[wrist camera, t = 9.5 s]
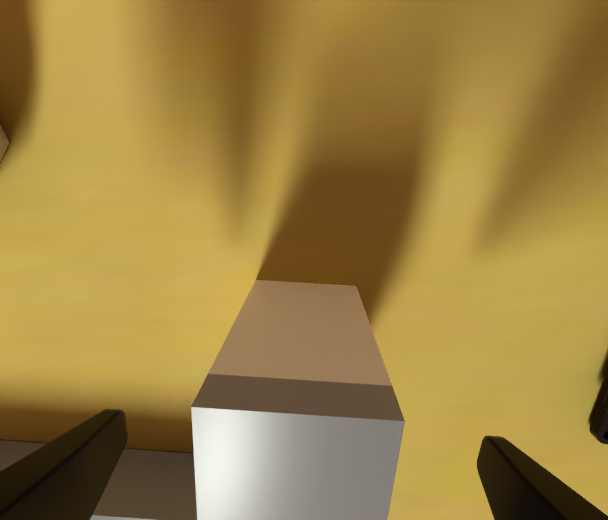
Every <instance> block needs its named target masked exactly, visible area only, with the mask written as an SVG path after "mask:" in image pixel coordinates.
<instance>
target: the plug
mask: <svg viewBox="0 0 608 520" xmlns="http://www.w3.org/2000/svg"><path fill="white" fill-rule="evenodd" d="M191 413H192V431H193V449H194V468H195V486H196V504H197V520H387V518H388V512H389V507H390V501H391V496H392V490H393V484H394V479H395V473H396V467H397V462H398V456H399V450H400V445H401V439H402V434H403V428H404V422H405V421H404V418H403V415H402V412H401V410H400V407H399V404H398V401H397V398H396V396H395V393H394V390H393V387H392V384H391V382H390V379H389V376H388V373H387V370H386V368H385V365H384V362H383V359H382V356H381V354H380V351H379V348H378V345H377V342H376V340H375V337H374V334H373V331H372V328H371V326H370V323H369V320H368V317H367V314H366V312H365V309H364V306H363V303H362V300H361V298H360V295H359V292H358V289H357V286H349V285H333V284H316V283H300V282H284V281H268V280H255V282H254V284H253V286H252V288H251V290H250V292H249V294H248V296H247V298H246V300H245V302H244V304H243V306H242V308H241V310H240V312H239V314H238V316H237V318H236V320H235V322H234V324H233V326H232V328H231V330H230V332H229V334H228V336H227V338H226V339H225V341H224V343H223V345H222V347H221V349H220V351H219V353H218V355H217V357H216V359H215V361H214V363H213V365H212V367H211V369H210V371H209V373H208V375H207V377H206V379H205V381H204V383H203V385H202V387H201V389H200V391H199V393H198V395H197V397H196V398H195V400H194V402H193V404H192V406H191Z"/></svg>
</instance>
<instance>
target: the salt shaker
mask: <svg viewBox="0 0 608 520" xmlns="http://www.w3.org/2000/svg"><path fill="white" fill-rule="evenodd" d="M8 145H9V140H8V138H7V136H6V134H5V132H4V130H3V128H2V125H1V123H0V162H1V160H2V158H3V156H4V154H5V151H6V149H7V147H8Z"/></svg>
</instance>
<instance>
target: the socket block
mask: <svg viewBox="0 0 608 520" xmlns="http://www.w3.org/2000/svg"><path fill="white" fill-rule="evenodd" d="M45 444H47V443H34V442H19V441H5V440H0V471H1V470H3V469H5V468H6V467H8V466H10V465H11V464H13V463H15V462H16V461H18V460H20V459H22V458H23V457H25V456H27V455H28V454H30V453H32V452H33V451H35V450H37V449H38V448H40V447H42V446H44V445H45ZM90 520H197V504H196V486H195V468H194V453H180V452H165V451H150V450H136V449H124V450H123V452H122V454H121V456H120V458H119V461H118V463H117V465H116V467H115V469H114V471H113V473H112V475H111V478H110V480H109V482H108V484H107V486H106V488H105V490H104V492H103V495H102V497H101V499H100V501H99V503H98V505H97V507H96V509H95V511H94V513H93V515H92V517H91V519H90Z"/></svg>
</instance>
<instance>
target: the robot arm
mask: <svg viewBox="0 0 608 520" xmlns="http://www.w3.org/2000/svg"><path fill="white" fill-rule="evenodd" d="M590 432H591V434H592V435H593V436H594V437H595V438H596V439H597V440H598V441H600V442H601V443H604V444H608V381H607V383H606V386H605V389H604V391H603V394H602V396H601V399H600V402H599V404H598V407H597V409H596V412H595V415H594V417H593V420H592V422H591V425H590ZM126 442H127V427H126V419H125V413H124V411H123V410H119V409H105V410H103V411H101V412H100V413H98V414H96V415H94V416H93V417H91V418H89V419H88V420H86V421H84V422H83V423H81V424H79V425H78V426H76V427H74V428H72V429H71V430H69V431H67V432H66V433H64V434H62V435H61V436H59V437H57V438H55V439H54V440H52V441H50V442H49V443H47V444H45V445H44V446H42V447H40V448H38V449H37V450H35V451H33V452H32V453H30V454H28V455H27V456H25V457H23V458H22V459H20V460H18V461H16V462H15V463H13V464H11V465H10V466H8V467H6V468H5V469H3V470H1V471H0V520H90V519H91V517H92V515H93V513H94V511H95V509H96V507H97V505H98V503H99V501H100V499H101V497H102V495H103V492H104V490H105V488H106V486H107V484H108V482H109V480H110V478H111V475H112V473H113V471H114V469H115V467H116V465H117V463H118V461H119V458H120V456H121V454H122V452H123V450H124V448H125V445H126ZM477 469H478V473H479V476H480V479H481V482H482V485H483V488H484V491H485V494H486V496H487V499H488V502H489V505H490V508H491V511H492V514H493V517H494V520H608V516H607V515H606V514H604V513H603V512H602V511H600V510H599V509H598V508H596V507H595V506H594V505H592V504H591V503H590V502H588V501H587V500H586V499H584V498H583V497H582V496H580V495H579V494H578V493H576V492H575V491H574V490H573V489H571V488H570V487H569V486H567V485H566V484H565V483H563V482H562V481H561V480H559V479H558V478H557V477H555V476H554V475H553V474H551V473H550V472H549V471H547V470H546V469H545V468H543V467H542V466H541V465H539V464H538V463H537V462H535V461H534V460H533V459H532V458H530V457H529V456H528V455H526V454H525V453H524V452H522V451H521V450H520V449H518V448H517V447H516V446H514V445H513V444H512V443H510V442H509V441H508V440H506V439H505V438H503V437H500V436H485V437H484V438H483V440H482V444H481V448H480V451H479V455H478V459H477Z"/></svg>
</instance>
